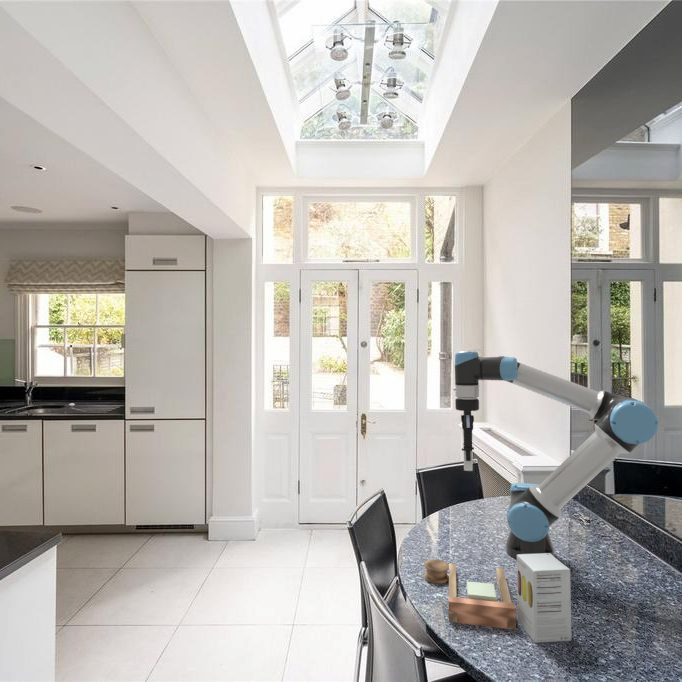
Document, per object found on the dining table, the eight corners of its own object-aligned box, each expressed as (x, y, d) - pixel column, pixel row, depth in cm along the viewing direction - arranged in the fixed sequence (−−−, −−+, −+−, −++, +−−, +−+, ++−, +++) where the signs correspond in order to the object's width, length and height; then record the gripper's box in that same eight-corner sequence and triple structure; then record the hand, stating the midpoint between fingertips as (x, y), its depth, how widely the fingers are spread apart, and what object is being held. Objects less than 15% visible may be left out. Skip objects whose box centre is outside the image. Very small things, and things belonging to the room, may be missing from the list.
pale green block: (494, 606, 125) (493, 583, 126) (496, 621, 119) (496, 597, 119) (467, 603, 127) (466, 581, 127) (468, 618, 120) (467, 594, 120)
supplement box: (516, 620, 119) (515, 553, 119) (551, 618, 119) (549, 551, 120) (535, 644, 109) (533, 570, 110) (572, 641, 110) (571, 568, 110)
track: (503, 576, 142) (503, 559, 142) (515, 629, 115) (515, 608, 115) (449, 571, 146) (448, 555, 146) (448, 621, 118) (448, 601, 119)
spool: (448, 573, 144) (448, 560, 145) (449, 584, 137) (448, 571, 137) (424, 571, 146) (424, 558, 146) (424, 582, 139) (424, 568, 139)
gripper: (455, 396, 162) (456, 465, 161) (455, 399, 149) (456, 474, 148) (477, 396, 160) (478, 466, 159) (480, 400, 147) (481, 475, 147)
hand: (468, 470), depth 154 cm, fingers closed
